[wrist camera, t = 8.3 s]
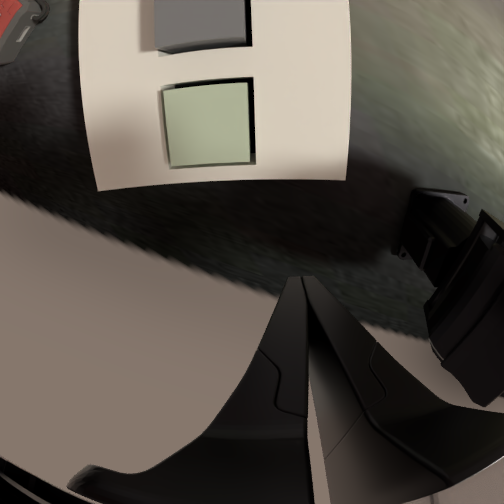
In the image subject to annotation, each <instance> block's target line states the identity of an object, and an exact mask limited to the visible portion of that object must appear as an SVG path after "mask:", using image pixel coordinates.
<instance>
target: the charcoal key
mask: <svg viewBox="0 0 504 504" xmlns="http://www.w3.org/2000/svg"><path fill="white" fill-rule="evenodd" d="M154 33H155V48H157V49H161V50H164V51H167V52H170V53H173V54H176V53H182V52H189V51H197V50H205V49H215V48H227V47H245V46H247V33H246V5H245V0H154Z"/></svg>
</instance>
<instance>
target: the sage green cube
mask: <svg viewBox="0 0 504 504" xmlns="http://www.w3.org/2000/svg"><path fill="white" fill-rule="evenodd" d="M163 93H164V105H165V116H166V126H167V135H168V144H169V152H170V160H171V166H183V165H196V164H211V163H231V162H250V153H251V137H250V107H249V84H248V83H229V84H215V85H204V86H195V87H187V88H179V89H172V90H166V91H163Z"/></svg>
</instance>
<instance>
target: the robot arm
mask: <svg viewBox="0 0 504 504" xmlns="http://www.w3.org/2000/svg"><path fill="white" fill-rule="evenodd" d="M417 194H419V195H418V197H416V195H417ZM464 199H465V200H464ZM468 203H469V197H468V196H467V195H465V194H461V193H452V192H444V191H435V190H425V189H415V190H413V191H412V193H411V198H410V203H409V207H408V212H407V215H406V217H405V221H404V225H403V229H402V233H401V237H400V244H399V248H398V252H397V255H398V257H399V258H400V259H402V260H406V259H413V260H414V262H415V263H416V265H417V266H418V268H419V269H420V270H421V271H424V272H425V274H426V275H427V277H428V278H429V280H430V281H431V283H432V284H433V286H434V287H438V288H437V289H436V291H435V292H434V294H433V295H432V296H431V298H430V299H429V300H427V301H426V303H425V304H424V306H423V307H424V312H425V317H426V322H427V327H428V333H429V341H430V344H431V347H432V350H433V352H434V353H435V355H436V356H437V358H438V359H439V360H440V361H441V366H442V367H443V368H445V369H446V370H447V371H449V372H450V373H451V374H452V375H453V376H454V377H455V378H456V379H457V380H458V381H459V382H460V383H461V385H462V386H463V387H464V389H465V391H466V392H467V393H468V395H469V397H470V398H471V400H472V401H473V402H474V403H476V404H478V405H480V406H482V407H486V406H488V405H489V404H490V403H491V402H493V401H494V400H495V399H496V398H497V397H501V398H504V223H503V222H502V221H500V220H499V219H497V218H496V217H494V216H493V215H491V214H490V213H488V212H486V211H485V210H483V209H482V210H481V212H480V214H479V216H480V217H479V219H478V221H477V222H476V221H475V220H474V219H473V218H472V217H471V216H470V215H468V214H467V213H466V210H467V207H468ZM402 253H404V254H402ZM309 379H310V384H311V389H312V395H313V400H314V406H315V411H316V416H317V422H318V428H319V433H320V439H321V445H322V451H323V457H324V463H325V470H326V476H327V482H328V488H329V495H330V502H331V504H504V413H497V412H490V411H484V410H478V409H472V408H466V407H461V406H456V405H452V404H449V403H447V402H445V401H443V400H442V399H440V398H439V397H437V396H436V395H435V394H434V393H433V392H431V391H430V390H429V389H428V388H427V387H426V386H424V385H423V384H422V383H421V382H420V381H419V380H417V379H416V378H415V377H414V376H413V375H412V374H411V373H409V372H408V371H407V370H406V369H405V368H404V367H403V366H402V365H400V364H399V363H398V362H397V361H396V360H395V359H394V358H393V357H392V356H391V355H390V354H389V353H388V352H387V351H386V350H385V349H384V348H383V347H382V346H381V345H380V344H379V342H376V340H375V338H374V337H373V336H372V335H371V334H370V333H369V332H368V331H367V330H366V329H365V328H364V327H363V326H362V325H361V324H360V323H359V322H358V320H357V319H356V318H355V317H354V316H353V315H352V314H351V313H350V312H349V311H348V310H347V309H346V308H345V307H344V306H343V305H342V304H341V303H340V302H339V301H338V300H337V299H336V298H335V297H334V296H333V295H332V294H331V293H330V292H329V291H328V290H327V289H326V288H325V287H324V286H323V284H322V283H321V282H320V281H319V280H318V279H317V278H316V277H314V276H303V277H302V278H301V277H300V276H291V277H288V278H287V280H286V283H285V285H284V288H283V290H282V293H281V295H280V297H279V300H278V302H277V304H276V307H275V309H274V312H273V314H272V316H271V318H270V321H269V323H268V326H267V328H266V330H265V333H264V335H263V337H262V339H261V341H260V344H259V346H258V348H257V351H256V352H255V354H254V357H253V359H252V361H251V363H250V365H249V367H248V369H247V371H246V373H245V374H244V376H243V378H242V379H241V381H240V383H239V384H238V386H237V387H236V389H235V390H234V392H233V393H232V395H231V396H230V398H229V399H228V400H227V402H226V403H225V405H224V406H223V407H222V409H221V411H220V412H219V413H218V414H217V416H216V417H215V419H214V420H213V421H212V422H211V424H210V425H209V426H208V427H207V429H206V430H205V431H204V432H203V433H202V434H201V435H200V436H198V437H197V438H196V439H194V440H193V441H192V442H190V443H189V444H187V445H186V446H184V447H183V448H182V449H180V450H178V451H177V452H175V453H174V454H172V455H171V456H169V457H168V458H166V459H165V460H163V461H162V462H160V463H159V464H157V465H155V466H154V467H152V468H150V469H148V470H146V471H143V472H140V473H133V474H126V473H120V472H117V471H113V470H110V469H106V468H103V467H100V466H96V465H87V466H86V467H85V468H83V469H82V470H81V471H79V472H78V473H77V474H76V475H74V477H73V478H72V479H71V480H70V481H69V483H68V484H67V488H68V489H70V490H71V491H73V492H75V493H78V494H80V495H82V496H84V497H87V498H89V499H91V500H94V501H97V502H99V503H102V504H315V503H314V493H313V482H312V474H311V464H310V456H309V448H308V439H307V422H308V421H307V418H308V386H309V385H308V382H309ZM0 504H95V503H92V502H89V501H87V500H84V499H82V498H80V497H78V496H75V495H73V494H71V493H69V492H66V491H64V490H63V489H60V488H58V487H56V486H54V485H53V484H51V483H49V482H47V481H45V480H43V479H41V478H39V477H37V476H36V475H33V474H32V473H30V472H28V471H26V470H25V469H23V468H21V467H19V466H17V465H16V464H14V463H12V462H10V461H9V460H7V459H5V458H4V457H2V456H0Z"/></svg>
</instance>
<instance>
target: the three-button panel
mask: <svg viewBox="0 0 504 504" xmlns="http://www.w3.org/2000/svg"><path fill="white" fill-rule="evenodd" d="M251 16H252V44H253V47H235V48H221V49H210V50H201V51H193V52H186V53H179V54H173V53H170V52H167V51H164V50H161V49H157V48H155V33H154V0H80V3H79V67H80V82H81V93H82V103H83V111H84V119H85V126H86V132H87V138H88V144H89V150H90V155H91V160H92V165H93V170H94V175H95V179H96V184H97V188H98V191H104V190H112V189H121V188H130V187H139V186H149V185H161V184H173V183H187V182H203V181H223V180H256V179H316V180H346V169H347V158H348V145H349V129H350V108H351V32H350V13H349V0H251ZM232 79H254V105H255V140H256V153H250V162H231V163H211V164H196V165H183V166H171V160H170V152H169V144H168V135H167V126H166V116H165V105H164V93H163V91H166V90H172V89H175V85H181V84H188V83H197V82H206V81H217V80H232Z"/></svg>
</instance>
